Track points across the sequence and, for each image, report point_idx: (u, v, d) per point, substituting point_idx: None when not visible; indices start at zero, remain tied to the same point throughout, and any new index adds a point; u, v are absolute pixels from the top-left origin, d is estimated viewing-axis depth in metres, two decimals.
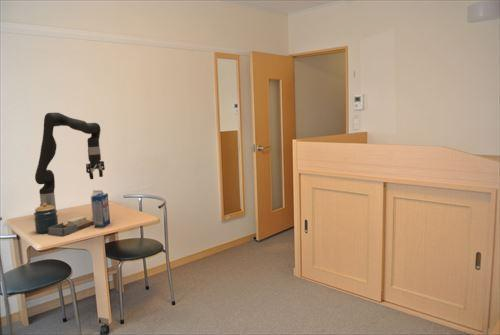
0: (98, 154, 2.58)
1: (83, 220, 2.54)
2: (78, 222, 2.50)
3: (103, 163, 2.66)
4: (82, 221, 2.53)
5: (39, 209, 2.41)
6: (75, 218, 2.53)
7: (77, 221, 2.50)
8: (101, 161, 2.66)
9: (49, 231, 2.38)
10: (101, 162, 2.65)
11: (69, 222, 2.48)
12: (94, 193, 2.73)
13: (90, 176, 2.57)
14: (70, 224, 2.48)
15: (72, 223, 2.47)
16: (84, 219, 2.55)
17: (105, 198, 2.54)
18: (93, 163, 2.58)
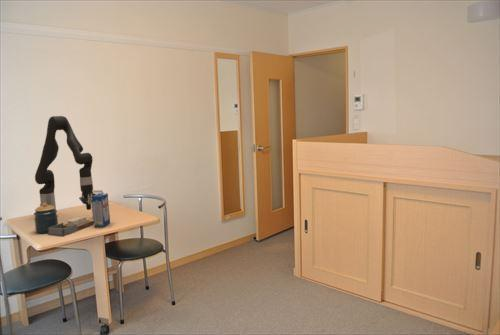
0: (90, 184, 2.58)
1: (83, 220, 2.54)
2: (78, 222, 2.50)
3: None
4: (82, 221, 2.53)
5: (39, 209, 2.41)
6: (75, 218, 2.53)
7: (77, 221, 2.50)
8: (93, 193, 2.65)
9: (49, 231, 2.38)
10: (93, 194, 2.65)
11: (69, 222, 2.48)
12: (94, 193, 2.73)
13: (87, 207, 2.60)
14: (70, 224, 2.48)
15: (72, 223, 2.47)
16: (84, 219, 2.55)
17: (105, 198, 2.54)
18: (85, 193, 2.57)
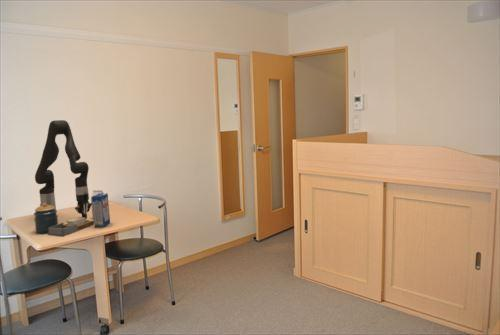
0: (86, 194, 2.54)
1: (82, 220, 2.54)
2: (78, 222, 2.50)
3: (90, 205, 2.61)
4: (81, 221, 2.53)
5: (39, 209, 2.41)
6: (74, 218, 2.53)
7: (77, 221, 2.49)
8: (89, 203, 2.62)
9: (49, 231, 2.38)
10: (89, 203, 2.61)
11: (69, 222, 2.48)
12: (94, 193, 2.73)
13: (82, 216, 2.57)
14: (70, 224, 2.48)
15: (72, 223, 2.47)
16: (83, 219, 2.54)
17: (105, 198, 2.54)
18: (81, 203, 2.54)
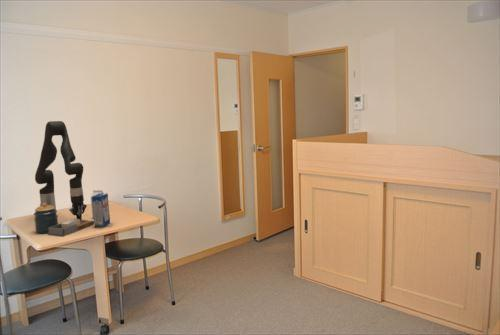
0: (81, 195, 2.50)
1: (77, 222, 2.49)
2: (72, 224, 2.46)
3: (85, 207, 2.57)
4: (76, 223, 2.49)
5: (39, 209, 2.41)
6: (69, 220, 2.48)
7: (71, 223, 2.45)
8: (84, 204, 2.58)
9: (49, 231, 2.38)
10: (84, 205, 2.57)
11: (63, 225, 2.43)
12: (94, 193, 2.73)
13: (77, 218, 2.52)
14: (64, 227, 2.43)
15: (66, 226, 2.43)
16: (78, 221, 2.50)
17: (105, 198, 2.54)
18: (75, 205, 2.50)
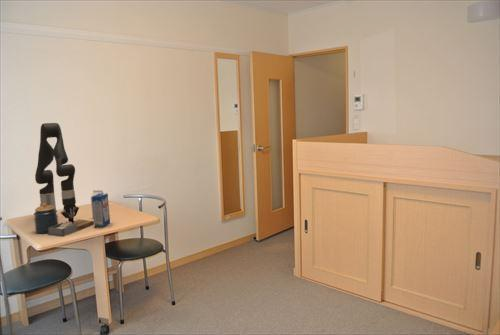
0: (72, 198, 2.44)
1: None
2: None
3: (77, 209, 2.51)
4: None
5: (39, 209, 2.41)
6: (61, 225, 2.43)
7: None
8: (76, 207, 2.51)
9: (49, 231, 2.38)
10: (76, 207, 2.51)
11: None
12: (94, 193, 2.73)
13: (69, 221, 2.46)
14: None
15: None
16: (70, 224, 2.44)
17: (105, 198, 2.54)
18: (67, 207, 2.43)
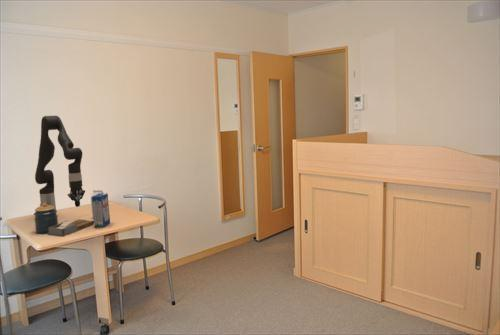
0: (79, 180, 2.49)
1: None
2: None
3: (83, 192, 2.56)
4: None
5: (39, 209, 2.41)
6: (61, 225, 2.43)
7: None
8: (83, 190, 2.56)
9: (49, 231, 2.38)
10: (82, 190, 2.56)
11: None
12: (94, 193, 2.73)
13: (75, 204, 2.51)
14: None
15: None
16: (70, 224, 2.45)
17: (105, 198, 2.54)
18: (74, 190, 2.48)
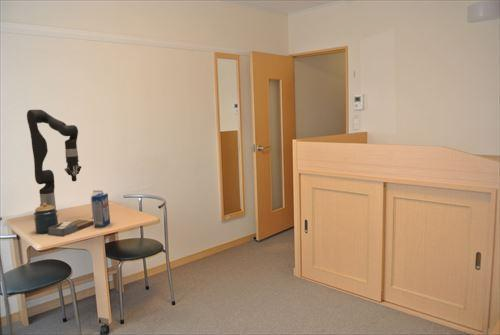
0: (75, 156, 2.63)
1: None
2: None
3: (80, 168, 2.70)
4: None
5: (39, 209, 2.41)
6: (61, 225, 2.43)
7: None
8: (79, 166, 2.70)
9: (49, 231, 2.38)
10: (78, 166, 2.69)
11: None
12: (94, 193, 2.73)
13: (72, 178, 2.65)
14: None
15: None
16: (70, 224, 2.45)
17: (105, 198, 2.54)
18: (70, 165, 2.62)
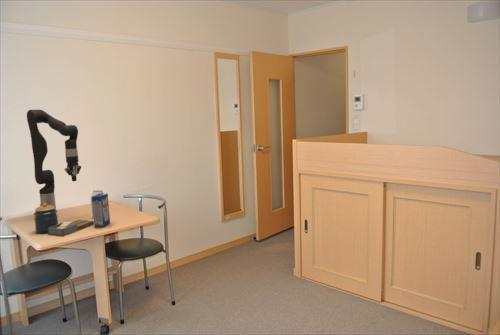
0: (75, 156, 2.63)
1: None
2: None
3: (80, 168, 2.70)
4: None
5: (39, 209, 2.41)
6: (61, 225, 2.43)
7: None
8: (79, 166, 2.70)
9: (49, 231, 2.38)
10: (78, 166, 2.69)
11: None
12: (94, 193, 2.73)
13: (72, 178, 2.65)
14: None
15: None
16: (70, 224, 2.45)
17: (105, 198, 2.54)
18: (70, 165, 2.62)
